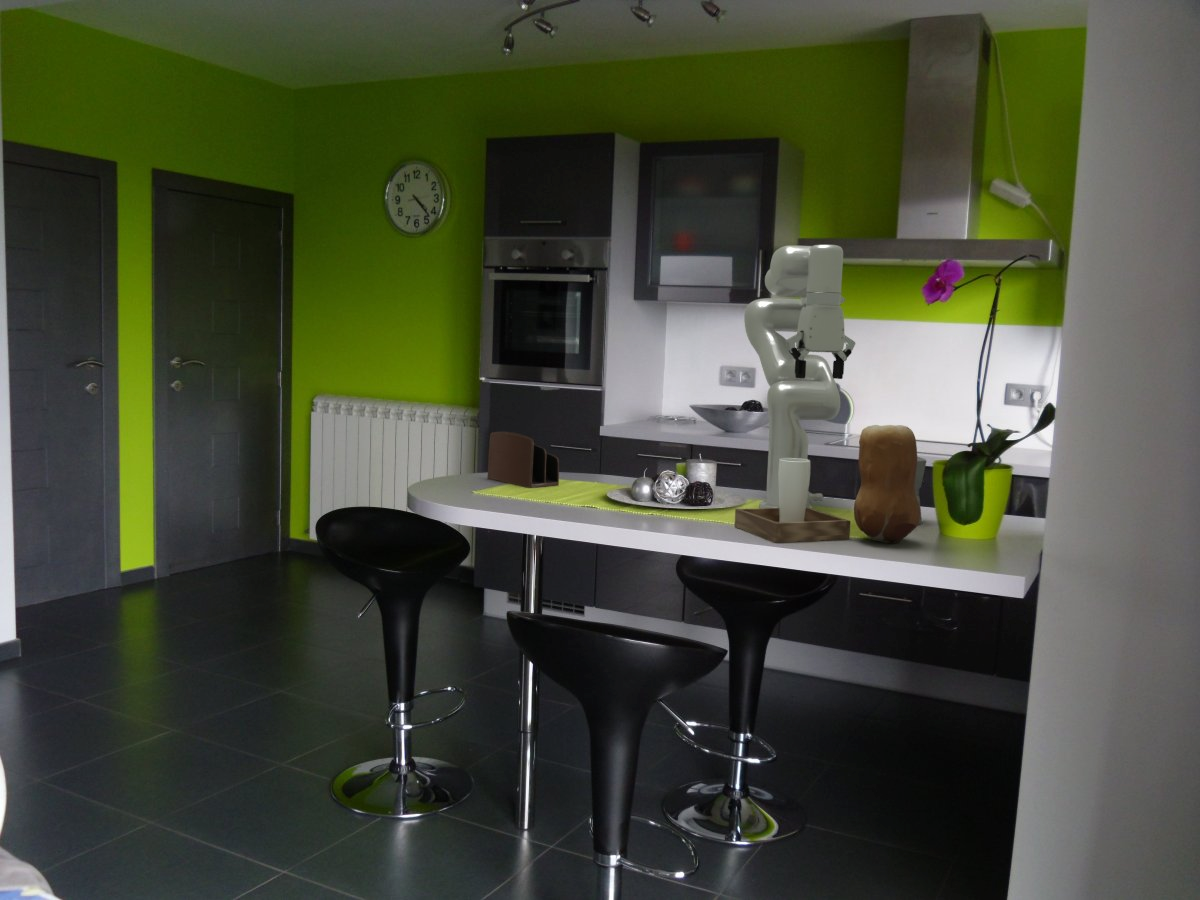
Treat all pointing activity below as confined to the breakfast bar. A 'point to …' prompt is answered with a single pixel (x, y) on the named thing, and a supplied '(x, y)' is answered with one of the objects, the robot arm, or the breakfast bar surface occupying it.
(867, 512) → the butternut squash
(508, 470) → the letter holder
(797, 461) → the drinking glass
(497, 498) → the breakfast bar surface
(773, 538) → the walnut tray
